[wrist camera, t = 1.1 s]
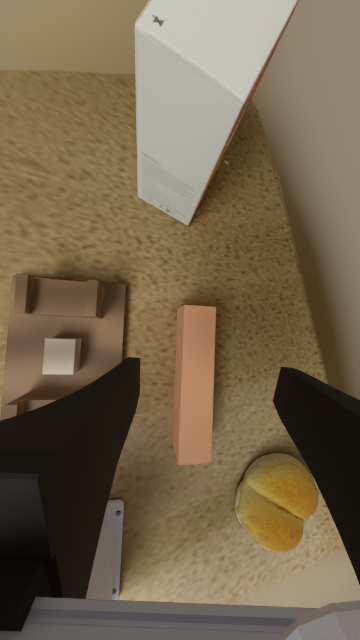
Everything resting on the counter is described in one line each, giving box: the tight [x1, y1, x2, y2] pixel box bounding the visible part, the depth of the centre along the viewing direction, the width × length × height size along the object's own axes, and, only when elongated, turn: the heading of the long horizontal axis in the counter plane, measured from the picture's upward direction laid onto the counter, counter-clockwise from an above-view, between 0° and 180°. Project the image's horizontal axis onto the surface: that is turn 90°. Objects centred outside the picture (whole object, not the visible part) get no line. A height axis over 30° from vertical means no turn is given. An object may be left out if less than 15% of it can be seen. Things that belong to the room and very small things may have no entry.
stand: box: [0, 274, 126, 421], centre depth 18 cm, size 14×10×4 cm
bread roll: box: [235, 453, 318, 552], centre depth 22 cm, size 8×9×4 cm
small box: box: [135, 0, 299, 226], centre depth 17 cm, size 8×6×13 cm
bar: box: [172, 305, 216, 465], centre depth 21 cm, size 14×3×4 cm, turn 178°
